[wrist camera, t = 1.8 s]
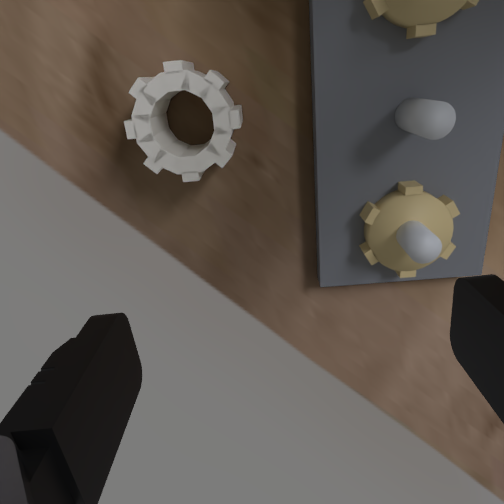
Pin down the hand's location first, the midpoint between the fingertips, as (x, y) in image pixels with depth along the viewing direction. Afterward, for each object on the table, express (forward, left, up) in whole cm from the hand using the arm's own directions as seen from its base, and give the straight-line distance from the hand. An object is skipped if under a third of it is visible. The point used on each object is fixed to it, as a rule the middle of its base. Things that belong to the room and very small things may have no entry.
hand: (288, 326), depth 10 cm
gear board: (-3, +9, -20) cm, 22 cm away
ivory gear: (-4, -5, -20) cm, 21 cm away
